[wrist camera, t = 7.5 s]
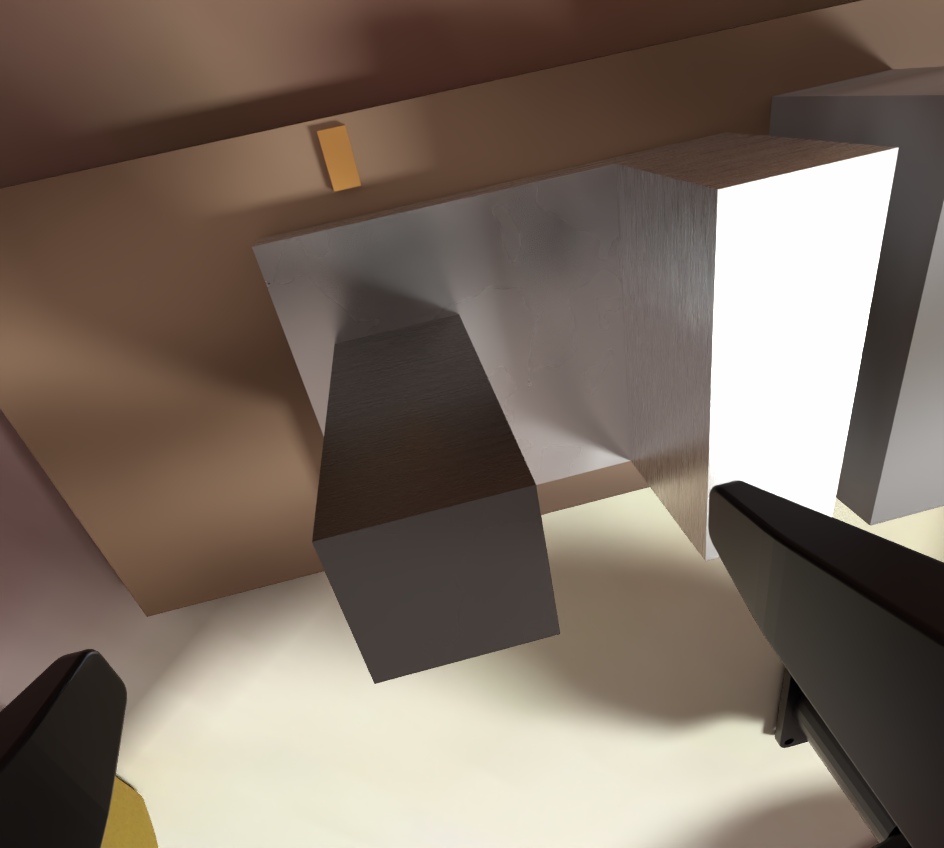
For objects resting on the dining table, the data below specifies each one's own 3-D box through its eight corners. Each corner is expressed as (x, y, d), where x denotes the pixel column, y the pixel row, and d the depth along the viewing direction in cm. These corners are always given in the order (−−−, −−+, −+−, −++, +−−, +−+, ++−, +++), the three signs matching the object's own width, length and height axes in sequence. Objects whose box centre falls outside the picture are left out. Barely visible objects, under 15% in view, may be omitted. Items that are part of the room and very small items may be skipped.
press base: (852, 414, 20) (1025, 525, 15) (157, 592, 19) (77, 782, 13) (930, -15, 14) (1277, -86, 8) (-100, 210, 12) (-427, 288, 7)
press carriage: (714, 422, 17) (935, 624, 11) (359, 512, 17) (357, 785, 10) (725, 132, 13) (1094, 164, 7) (257, 238, 13) (141, 391, 6)
